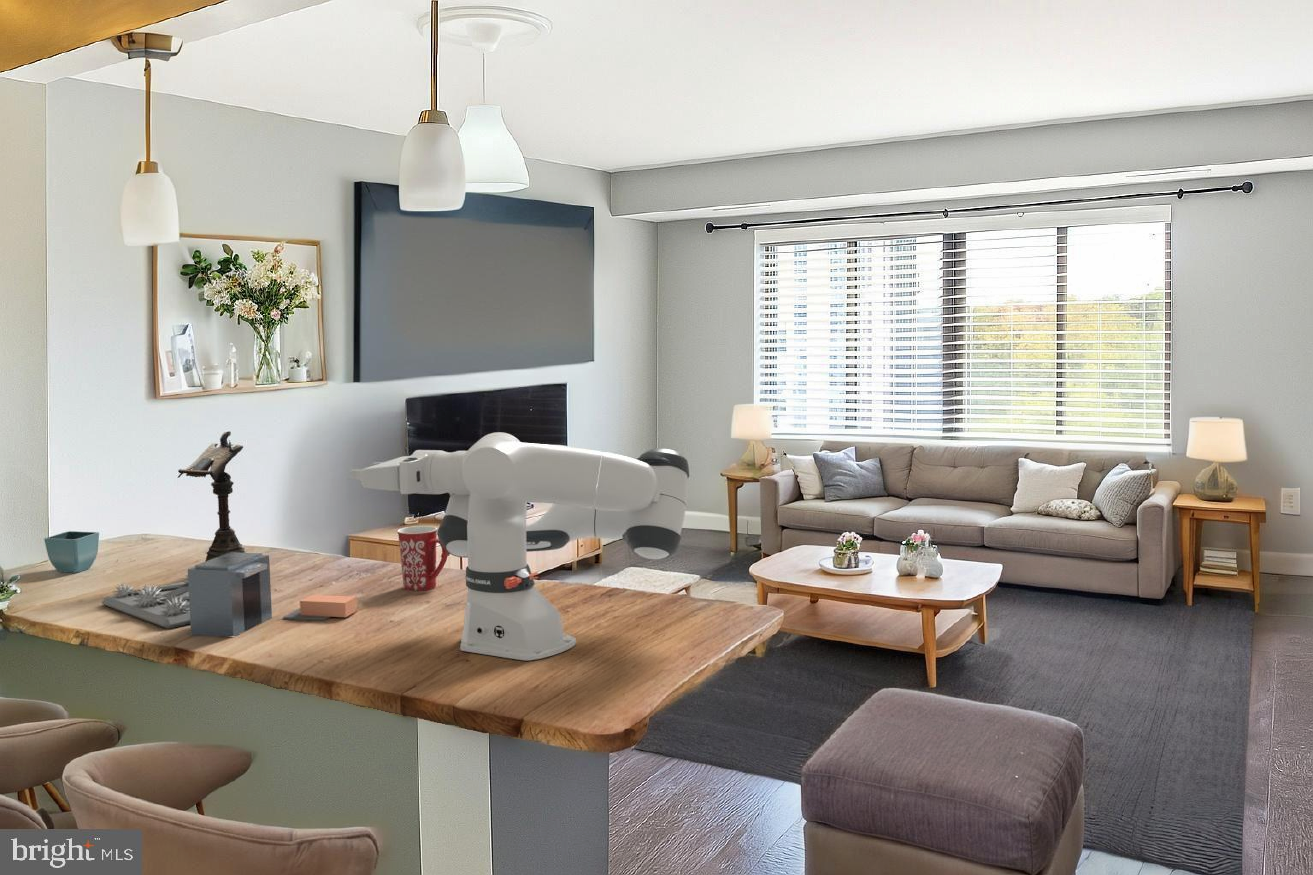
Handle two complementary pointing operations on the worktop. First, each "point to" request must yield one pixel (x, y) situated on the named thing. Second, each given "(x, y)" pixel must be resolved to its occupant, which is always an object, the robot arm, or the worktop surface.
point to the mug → (420, 557)
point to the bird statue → (218, 492)
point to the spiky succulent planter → (154, 603)
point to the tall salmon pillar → (328, 605)
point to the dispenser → (229, 594)
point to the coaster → (304, 616)
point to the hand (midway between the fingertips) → (360, 470)
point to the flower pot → (72, 550)
